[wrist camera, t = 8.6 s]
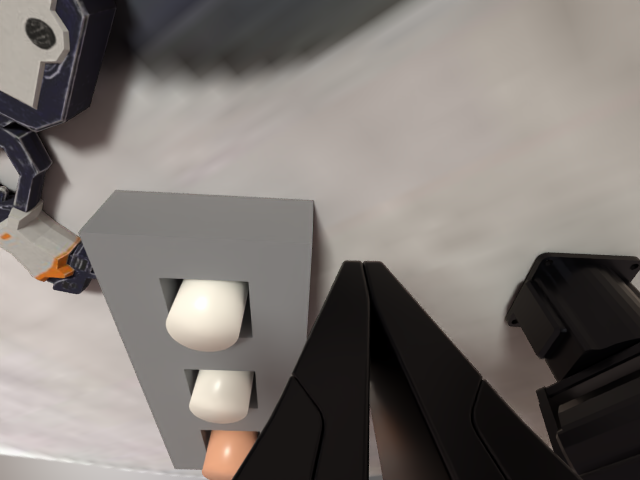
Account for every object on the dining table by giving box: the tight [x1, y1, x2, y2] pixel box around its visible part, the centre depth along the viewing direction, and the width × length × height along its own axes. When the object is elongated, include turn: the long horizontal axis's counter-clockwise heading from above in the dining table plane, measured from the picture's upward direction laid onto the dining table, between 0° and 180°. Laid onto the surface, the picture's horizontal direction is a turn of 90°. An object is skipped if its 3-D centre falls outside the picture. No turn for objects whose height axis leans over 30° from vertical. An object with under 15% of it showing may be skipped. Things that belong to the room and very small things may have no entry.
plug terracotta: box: [202, 430, 258, 480], centre depth 31 cm, size 4×4×5 cm
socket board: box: [78, 190, 313, 470], centre depth 27 cm, size 11×26×4 cm, turn 177°
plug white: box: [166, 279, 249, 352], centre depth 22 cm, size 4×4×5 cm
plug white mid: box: [189, 370, 254, 424], centre depth 26 cm, size 4×4×5 cm
